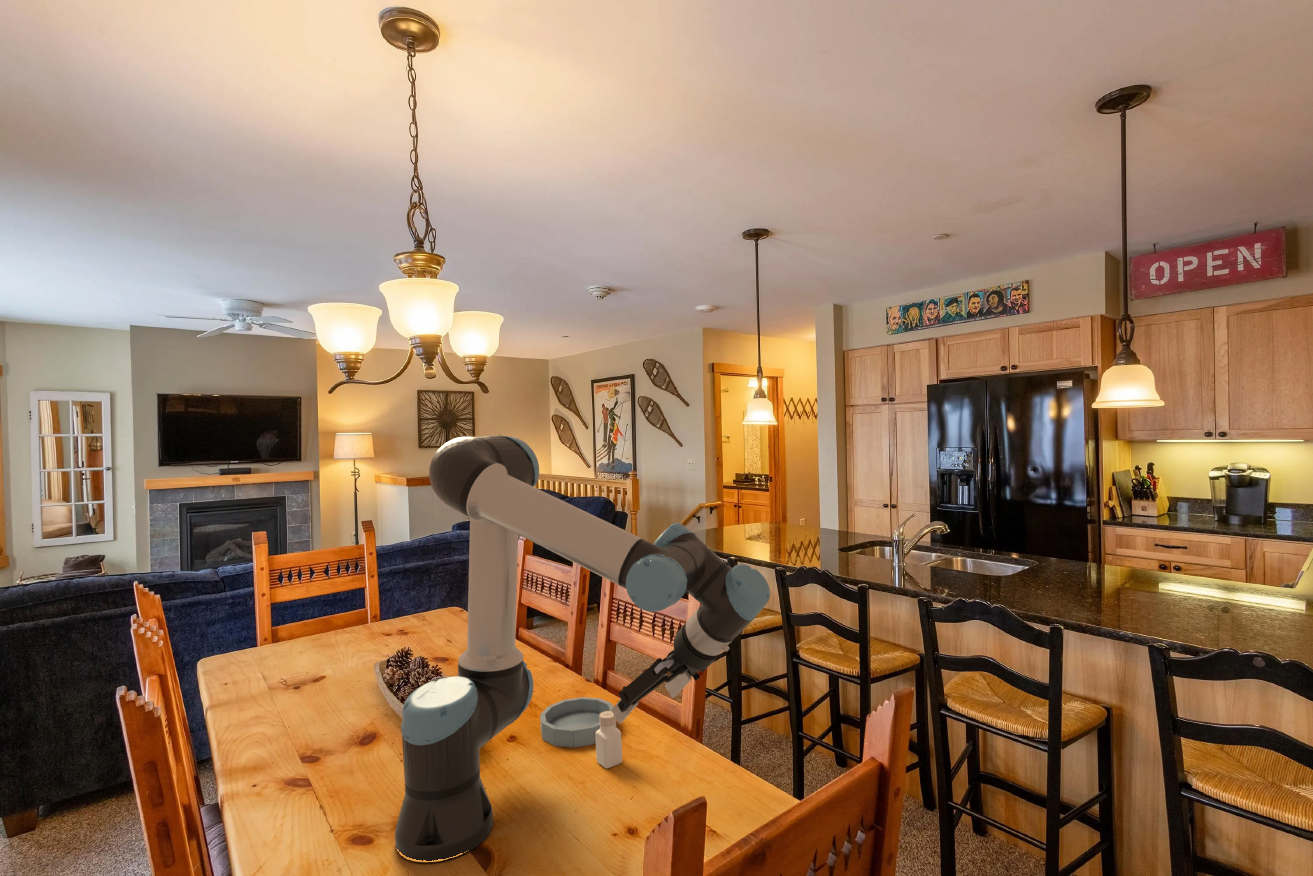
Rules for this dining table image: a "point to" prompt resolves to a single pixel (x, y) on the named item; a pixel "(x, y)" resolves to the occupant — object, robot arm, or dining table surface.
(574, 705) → the bowl
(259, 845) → the dining table surface
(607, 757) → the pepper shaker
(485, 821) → the robot arm
